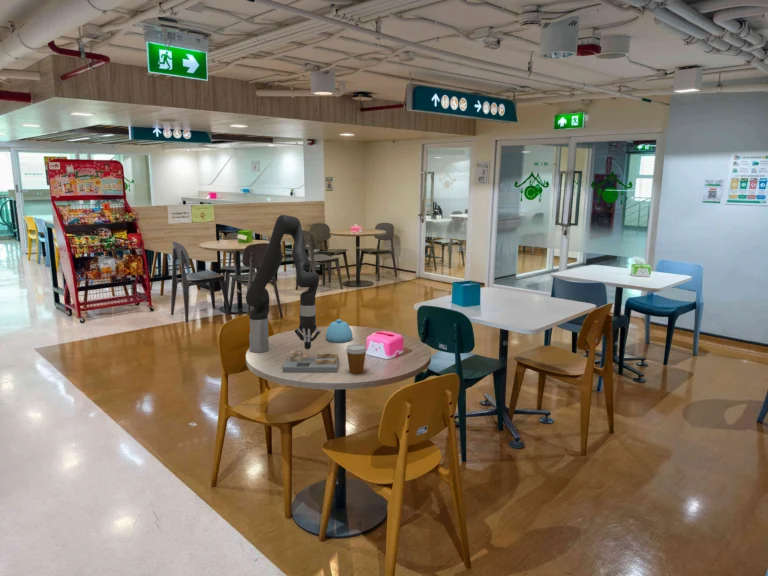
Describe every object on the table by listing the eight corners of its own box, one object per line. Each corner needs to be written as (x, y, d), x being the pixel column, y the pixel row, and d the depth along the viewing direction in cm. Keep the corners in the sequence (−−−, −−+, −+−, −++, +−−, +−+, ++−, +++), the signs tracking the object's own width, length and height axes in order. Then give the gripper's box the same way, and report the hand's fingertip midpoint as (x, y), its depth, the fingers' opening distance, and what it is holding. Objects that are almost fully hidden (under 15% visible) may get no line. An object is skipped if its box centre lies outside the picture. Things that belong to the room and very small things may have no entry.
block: (289, 361, 268) (289, 353, 268) (292, 358, 273) (292, 350, 273) (300, 361, 268) (300, 353, 267) (302, 358, 273) (302, 350, 272)
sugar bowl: (324, 343, 308) (323, 322, 306) (327, 336, 323) (327, 316, 321) (351, 343, 308) (351, 323, 306) (353, 336, 322) (353, 316, 320)
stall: (315, 364, 264) (315, 360, 264) (317, 357, 275) (317, 353, 274) (336, 364, 264) (336, 360, 264) (338, 357, 275) (338, 353, 274)
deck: (282, 372, 260) (282, 367, 260) (288, 362, 275) (287, 357, 274) (336, 372, 260) (336, 367, 260) (339, 362, 275) (339, 357, 275)
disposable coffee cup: (347, 368, 266) (347, 343, 264) (367, 369, 266) (367, 344, 263) (344, 374, 257) (344, 349, 255) (365, 375, 256) (365, 350, 254)
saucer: (286, 360, 277) (286, 358, 277) (289, 354, 287) (289, 352, 286) (307, 361, 277) (306, 358, 277) (309, 355, 287) (309, 352, 287)
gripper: (323, 313, 268) (323, 347, 272) (297, 311, 271) (297, 345, 274) (318, 316, 261) (318, 352, 264) (291, 314, 263) (291, 350, 267)
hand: (307, 349), depth 269 cm, fingers closed
